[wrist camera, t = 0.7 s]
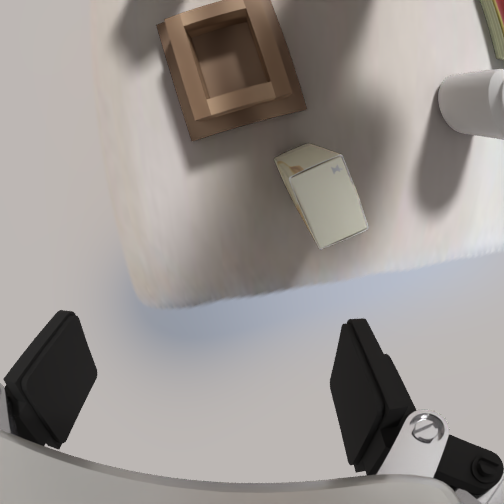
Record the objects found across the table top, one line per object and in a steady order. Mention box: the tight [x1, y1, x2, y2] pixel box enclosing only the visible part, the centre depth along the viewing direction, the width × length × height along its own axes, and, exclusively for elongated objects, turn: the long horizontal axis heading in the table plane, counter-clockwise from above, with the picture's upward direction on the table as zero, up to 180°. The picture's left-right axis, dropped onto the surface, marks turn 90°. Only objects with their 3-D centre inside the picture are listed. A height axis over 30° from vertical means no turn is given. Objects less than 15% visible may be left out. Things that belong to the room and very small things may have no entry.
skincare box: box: [274, 143, 369, 250], centre depth 27 cm, size 6×4×12 cm
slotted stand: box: [156, 0, 307, 141], centre depth 25 cm, size 12×14×6 cm
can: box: [438, 69, 504, 140], centre depth 23 cm, size 8×8×12 cm
